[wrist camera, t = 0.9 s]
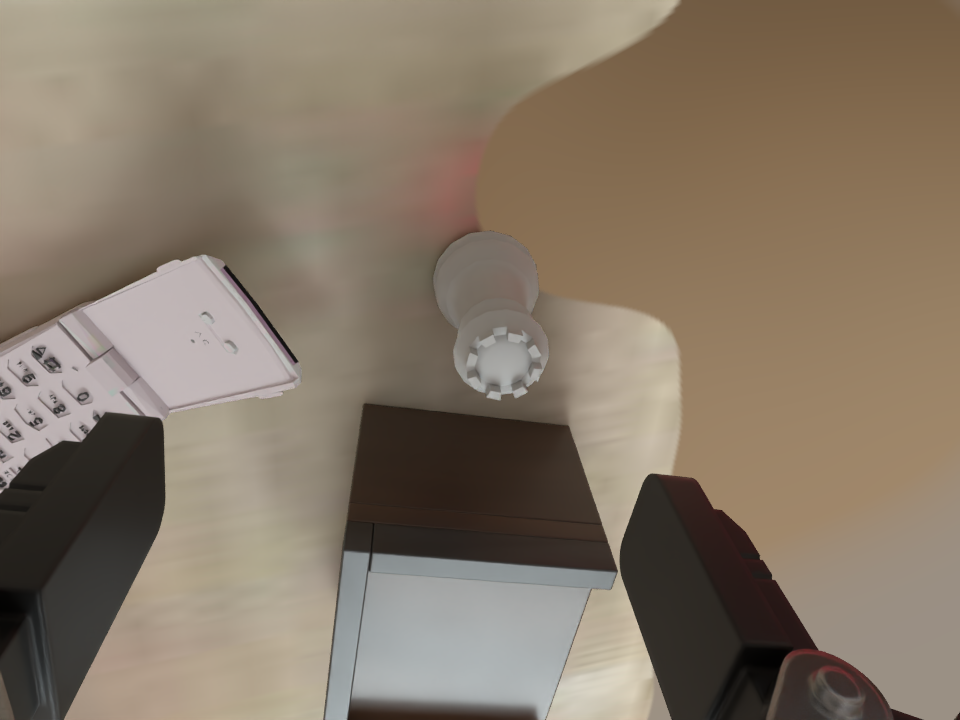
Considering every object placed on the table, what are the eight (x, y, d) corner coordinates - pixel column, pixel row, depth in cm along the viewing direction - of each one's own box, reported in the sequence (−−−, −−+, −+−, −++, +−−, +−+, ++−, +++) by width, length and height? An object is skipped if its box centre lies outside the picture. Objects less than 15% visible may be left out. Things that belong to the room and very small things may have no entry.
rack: (363, 403, 32) (342, 549, 23) (569, 425, 33) (618, 571, 25) (340, 600, 38) (317, 773, 29) (516, 612, 39) (541, 780, 31)
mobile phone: (312, 384, 24) (-198, 645, 28) (332, 317, 29) (-100, 545, 33) (205, 241, 22) (-342, 551, 25) (248, 196, 27) (-211, 458, 31)
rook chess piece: (547, 306, 30) (585, 402, 23) (451, 337, 30) (460, 440, 23) (520, 212, 28) (553, 286, 21) (417, 246, 28) (416, 329, 21)
